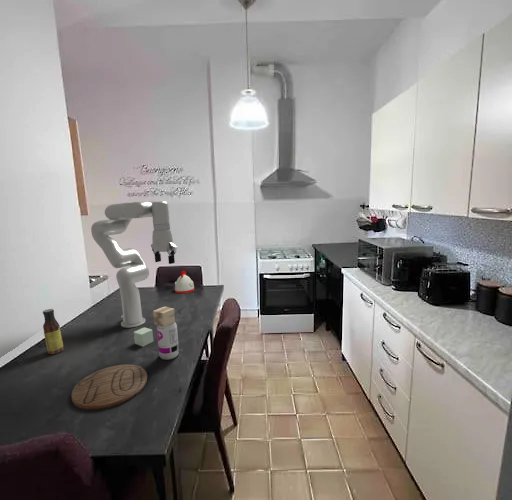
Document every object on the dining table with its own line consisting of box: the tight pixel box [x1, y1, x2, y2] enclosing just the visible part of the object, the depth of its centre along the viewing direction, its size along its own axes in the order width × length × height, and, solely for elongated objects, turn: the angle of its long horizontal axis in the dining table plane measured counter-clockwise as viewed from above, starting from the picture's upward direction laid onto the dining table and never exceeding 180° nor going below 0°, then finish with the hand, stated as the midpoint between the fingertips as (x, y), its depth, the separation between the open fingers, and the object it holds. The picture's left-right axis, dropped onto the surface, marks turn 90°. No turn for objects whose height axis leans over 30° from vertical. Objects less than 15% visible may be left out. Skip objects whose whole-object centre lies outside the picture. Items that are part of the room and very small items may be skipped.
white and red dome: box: [174, 270, 195, 294], centre depth 227 cm, size 14×14×15 cm
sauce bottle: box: [42, 308, 64, 355], centre depth 140 cm, size 7×6×20 cm
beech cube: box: [152, 306, 176, 327], centre depth 131 cm, size 6×6×6 cm
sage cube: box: [133, 327, 154, 347], centre depth 147 cm, size 6×6×6 cm
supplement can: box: [156, 321, 180, 361], centre depth 133 cm, size 8×8×15 cm
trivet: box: [71, 364, 148, 411], centre depth 113 cm, size 25×25×2 cm
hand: (164, 262), depth 151 cm, fingers open, 9 cm apart
